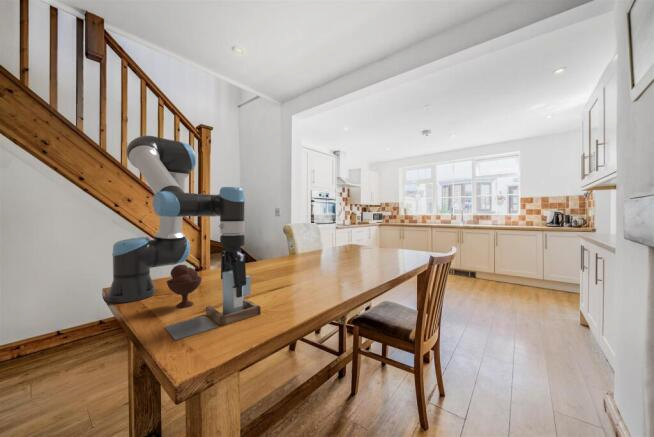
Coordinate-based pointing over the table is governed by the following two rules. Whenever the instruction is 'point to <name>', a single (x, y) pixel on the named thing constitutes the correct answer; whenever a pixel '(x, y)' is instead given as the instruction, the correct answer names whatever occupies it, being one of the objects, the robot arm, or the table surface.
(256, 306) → the brown wooden u-shaped frame
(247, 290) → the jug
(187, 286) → the ice cream bowl
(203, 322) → the coaster
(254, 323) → the table surface
